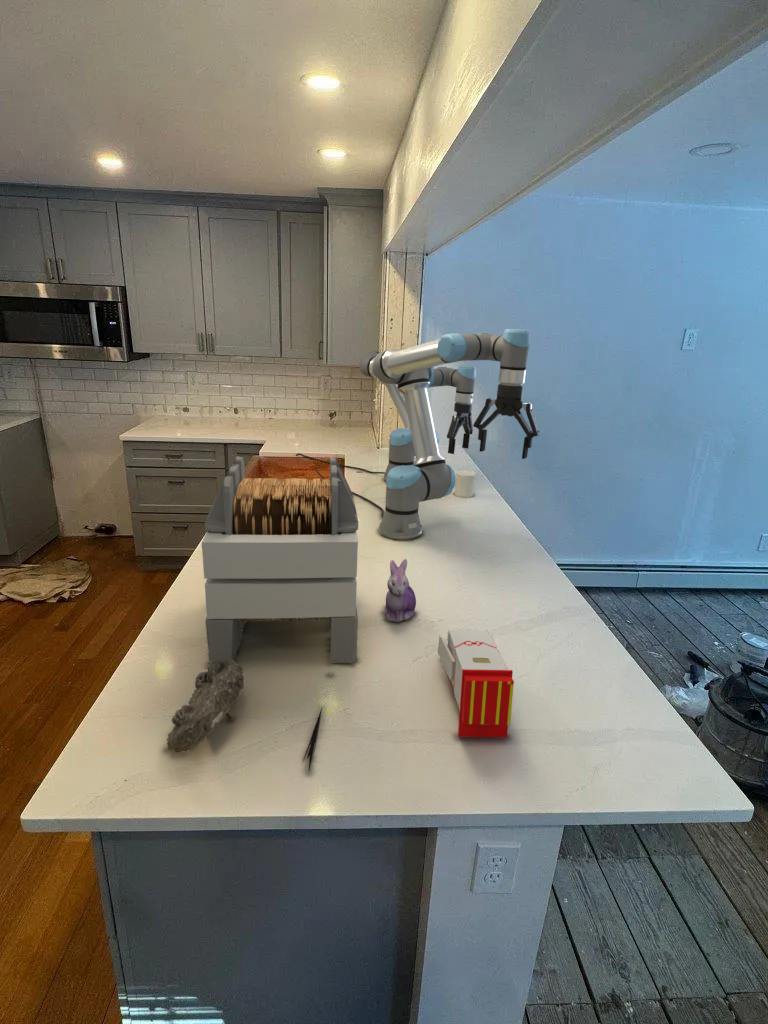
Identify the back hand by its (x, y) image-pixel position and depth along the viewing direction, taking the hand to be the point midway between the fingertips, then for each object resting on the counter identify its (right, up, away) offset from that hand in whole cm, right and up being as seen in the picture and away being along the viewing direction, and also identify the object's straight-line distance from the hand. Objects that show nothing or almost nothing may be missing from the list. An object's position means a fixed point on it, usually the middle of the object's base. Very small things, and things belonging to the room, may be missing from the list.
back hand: (458, 450), depth 251 cm
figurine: (-29, -54, -104) cm, 120 cm away
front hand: (+4, -9, -77) cm, 78 cm away
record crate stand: (-57, -55, -112) cm, 137 cm away
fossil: (-66, -66, -143) cm, 171 cm away
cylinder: (+2, -20, -5) cm, 20 cm away
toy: (-15, -65, -133) cm, 148 cm away
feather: (-45, -67, -143) cm, 164 cm away
